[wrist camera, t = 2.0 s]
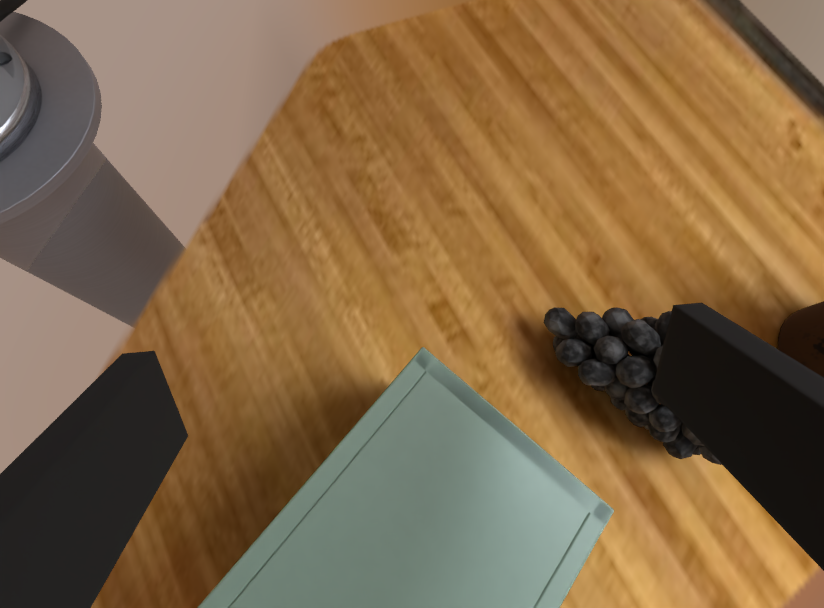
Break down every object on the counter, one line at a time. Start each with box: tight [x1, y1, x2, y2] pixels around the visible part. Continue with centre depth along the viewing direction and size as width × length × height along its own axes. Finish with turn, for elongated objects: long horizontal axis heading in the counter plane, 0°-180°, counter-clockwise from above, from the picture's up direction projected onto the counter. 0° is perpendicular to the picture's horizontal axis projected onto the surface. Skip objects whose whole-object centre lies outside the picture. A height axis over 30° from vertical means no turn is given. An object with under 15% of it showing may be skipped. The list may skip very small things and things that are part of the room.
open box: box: [197, 347, 614, 608], centre depth 20 cm, size 15×10×12 cm, turn 140°
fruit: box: [544, 308, 721, 465], centre depth 27 cm, size 9×8×15 cm
